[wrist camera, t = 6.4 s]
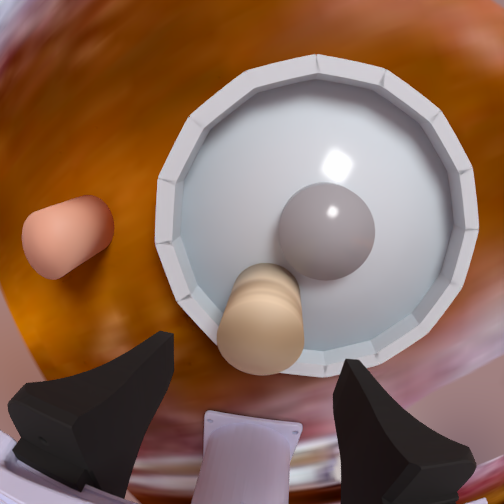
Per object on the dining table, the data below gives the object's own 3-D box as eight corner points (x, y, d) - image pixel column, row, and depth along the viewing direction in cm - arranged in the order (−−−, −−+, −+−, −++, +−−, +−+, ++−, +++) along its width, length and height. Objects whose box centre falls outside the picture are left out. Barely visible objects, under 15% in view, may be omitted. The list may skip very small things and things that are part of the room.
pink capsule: (114, 256, 20) (74, 285, 16) (69, 247, 21) (26, 272, 16) (114, 197, 19) (69, 213, 14) (67, 193, 19) (19, 208, 15)
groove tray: (412, 361, 21) (423, 382, 18) (168, 331, 22) (156, 350, 19) (475, 111, 15) (496, 108, 13) (187, 56, 16) (173, 45, 14)
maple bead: (293, 328, 20) (294, 380, 15) (229, 318, 20) (213, 367, 15) (306, 268, 18) (312, 310, 14) (236, 257, 18) (220, 296, 14)
